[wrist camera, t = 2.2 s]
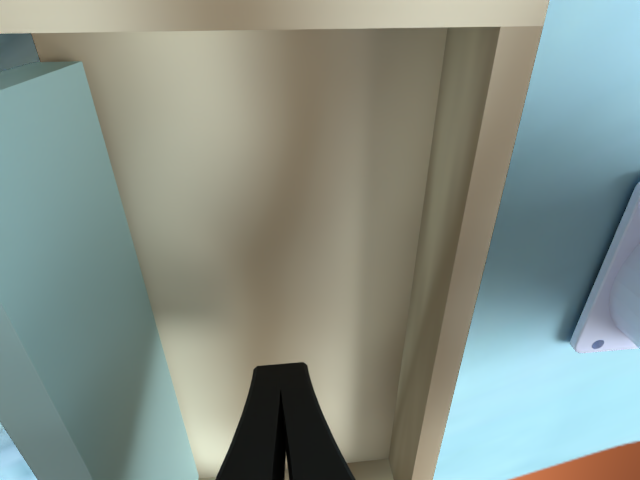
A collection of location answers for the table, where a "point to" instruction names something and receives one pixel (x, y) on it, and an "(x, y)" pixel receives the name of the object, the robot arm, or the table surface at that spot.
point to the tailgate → (75, 297)
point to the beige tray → (307, 194)
